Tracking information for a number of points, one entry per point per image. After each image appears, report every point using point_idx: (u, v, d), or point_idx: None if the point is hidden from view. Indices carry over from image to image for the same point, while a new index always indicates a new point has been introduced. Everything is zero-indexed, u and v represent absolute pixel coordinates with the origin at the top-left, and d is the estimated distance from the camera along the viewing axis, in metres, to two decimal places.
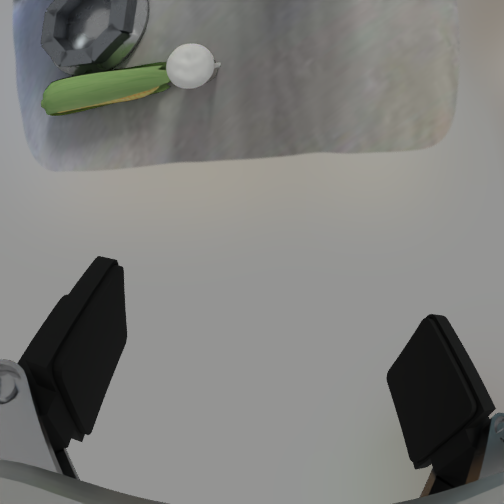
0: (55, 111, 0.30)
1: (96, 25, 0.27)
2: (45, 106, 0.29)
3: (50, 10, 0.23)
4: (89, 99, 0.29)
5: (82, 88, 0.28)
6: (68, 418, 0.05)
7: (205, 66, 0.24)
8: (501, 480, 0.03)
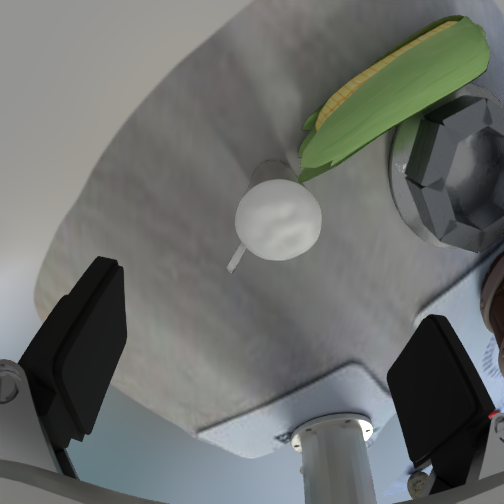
0: (457, 25, 0.13)
1: (459, 166, 0.21)
2: (477, 29, 0.13)
3: None
4: (414, 61, 0.15)
5: (436, 77, 0.15)
6: (69, 417, 0.05)
7: (252, 241, 0.16)
8: (501, 480, 0.03)
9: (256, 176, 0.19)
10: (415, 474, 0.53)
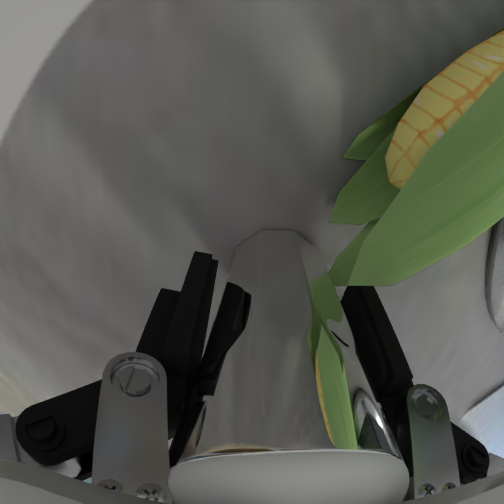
0: None
1: None
2: None
3: None
4: None
5: None
6: (183, 404, 0.07)
7: None
8: (501, 480, 0.03)
9: (229, 313, 0.07)
10: None
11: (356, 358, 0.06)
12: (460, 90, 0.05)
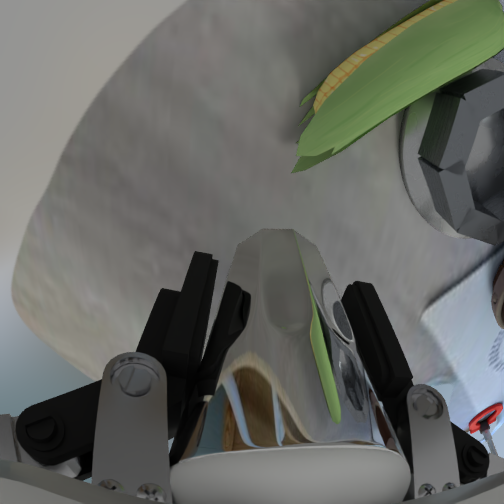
0: None
1: (477, 148, 0.18)
2: (494, 2, 0.09)
3: None
4: (427, 33, 0.12)
5: (453, 52, 0.12)
6: (184, 404, 0.07)
7: None
8: (501, 480, 0.03)
9: (230, 311, 0.07)
10: None
11: (357, 355, 0.06)
12: (343, 73, 0.14)
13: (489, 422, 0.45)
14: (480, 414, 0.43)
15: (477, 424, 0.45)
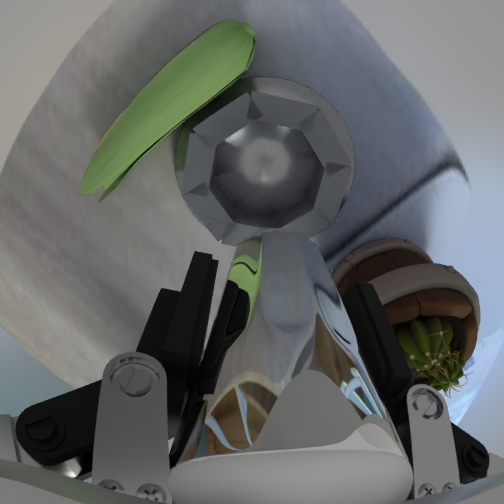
0: (202, 36, 0.18)
1: (254, 166, 0.25)
2: (229, 32, 0.17)
3: (341, 169, 0.22)
4: (151, 90, 0.19)
5: (168, 100, 0.19)
6: (183, 404, 0.07)
7: None
8: (501, 480, 0.03)
9: (230, 311, 0.07)
10: None
11: (358, 356, 0.06)
12: (104, 136, 0.22)
13: None
14: None
15: None
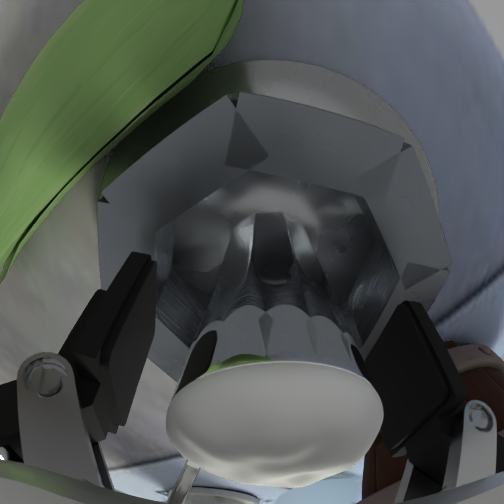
0: None
1: None
2: None
3: (431, 275, 0.10)
4: (12, 113, 0.07)
5: (35, 136, 0.07)
6: (107, 409, 0.06)
7: (212, 472, 0.06)
8: (501, 480, 0.03)
9: (227, 275, 0.09)
10: None
11: (333, 307, 0.07)
12: None
13: None
14: None
15: None
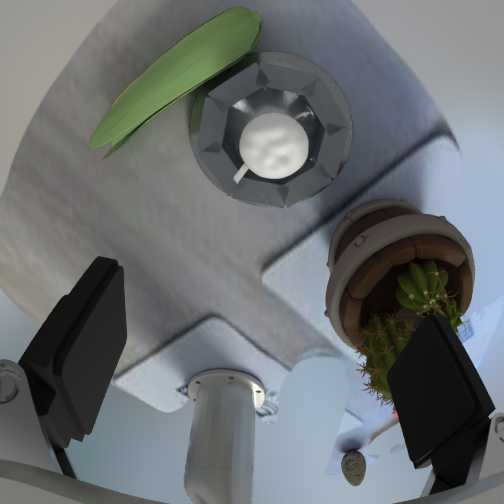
0: (216, 18, 0.19)
1: None
2: (239, 17, 0.19)
3: (340, 130, 0.24)
4: (166, 61, 0.21)
5: (180, 70, 0.21)
6: (68, 417, 0.05)
7: (253, 160, 0.20)
8: (501, 480, 0.03)
9: None
10: (349, 453, 0.61)
11: None
12: (118, 97, 0.24)
13: None
14: None
15: None
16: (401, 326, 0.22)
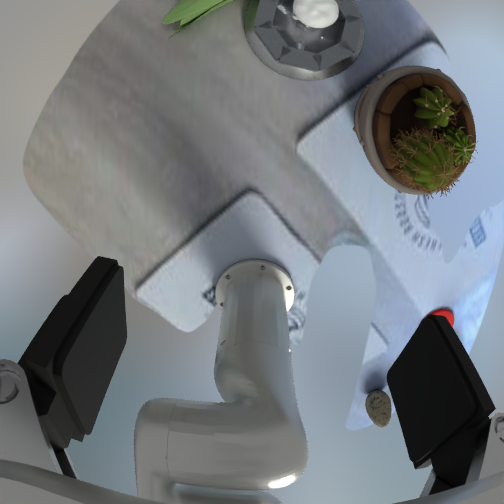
0: None
1: None
2: None
3: (356, 19, 0.27)
4: None
5: None
6: (68, 417, 0.05)
7: (303, 12, 0.23)
8: (501, 480, 0.03)
9: None
10: (373, 392, 0.64)
11: None
12: None
13: None
14: None
15: None
16: None
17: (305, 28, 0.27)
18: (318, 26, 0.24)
